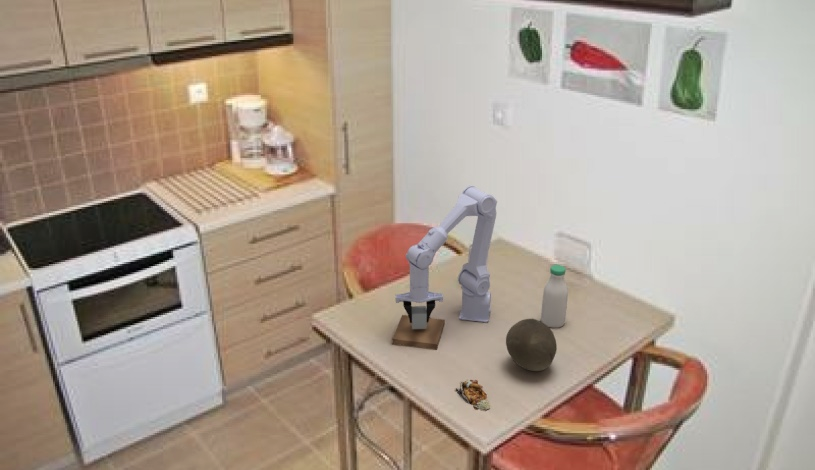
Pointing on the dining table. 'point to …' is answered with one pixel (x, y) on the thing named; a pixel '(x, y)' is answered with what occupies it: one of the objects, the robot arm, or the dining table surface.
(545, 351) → the dark brown coconut
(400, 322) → the board
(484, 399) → the turtle figurine
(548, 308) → the milk bottle
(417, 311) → the block
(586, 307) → the dining table surface
